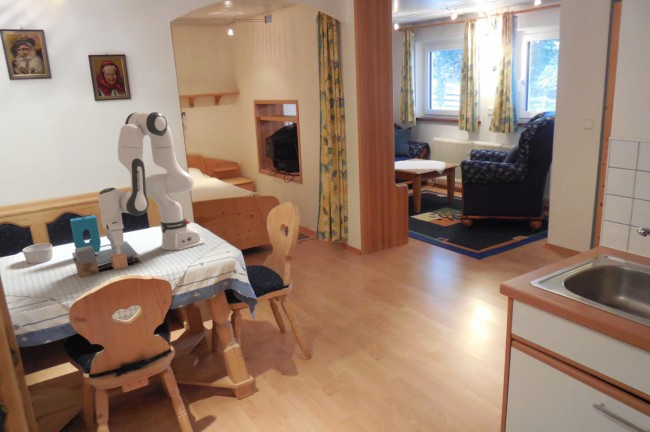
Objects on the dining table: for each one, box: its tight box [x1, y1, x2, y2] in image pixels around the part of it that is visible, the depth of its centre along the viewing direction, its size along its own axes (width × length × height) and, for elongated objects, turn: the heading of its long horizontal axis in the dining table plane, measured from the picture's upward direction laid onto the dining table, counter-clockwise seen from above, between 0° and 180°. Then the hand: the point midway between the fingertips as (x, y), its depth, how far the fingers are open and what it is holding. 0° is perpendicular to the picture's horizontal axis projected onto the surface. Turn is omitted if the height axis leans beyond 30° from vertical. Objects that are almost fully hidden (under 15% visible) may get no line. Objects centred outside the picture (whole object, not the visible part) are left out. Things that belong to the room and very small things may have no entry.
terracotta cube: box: [110, 251, 129, 270], centre depth 244 cm, size 6×6×6 cm
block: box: [69, 214, 102, 252], centre depth 260 cm, size 12×5×20 cm, turn 120°
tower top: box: [74, 246, 97, 265], centre depth 235 cm, size 7×7×6 cm
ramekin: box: [22, 242, 53, 265], centre depth 258 cm, size 13×13×7 cm
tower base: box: [75, 260, 100, 278], centre depth 237 cm, size 8×8×6 cm
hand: (116, 251), depth 242 cm, fingers open, 8 cm apart
